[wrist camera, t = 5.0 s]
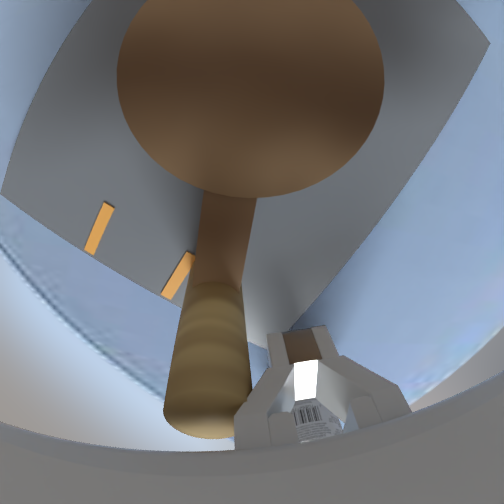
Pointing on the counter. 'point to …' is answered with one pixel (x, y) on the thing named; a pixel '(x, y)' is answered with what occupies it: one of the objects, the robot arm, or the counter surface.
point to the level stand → (190, 197)
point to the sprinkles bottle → (314, 420)
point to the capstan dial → (241, 151)
